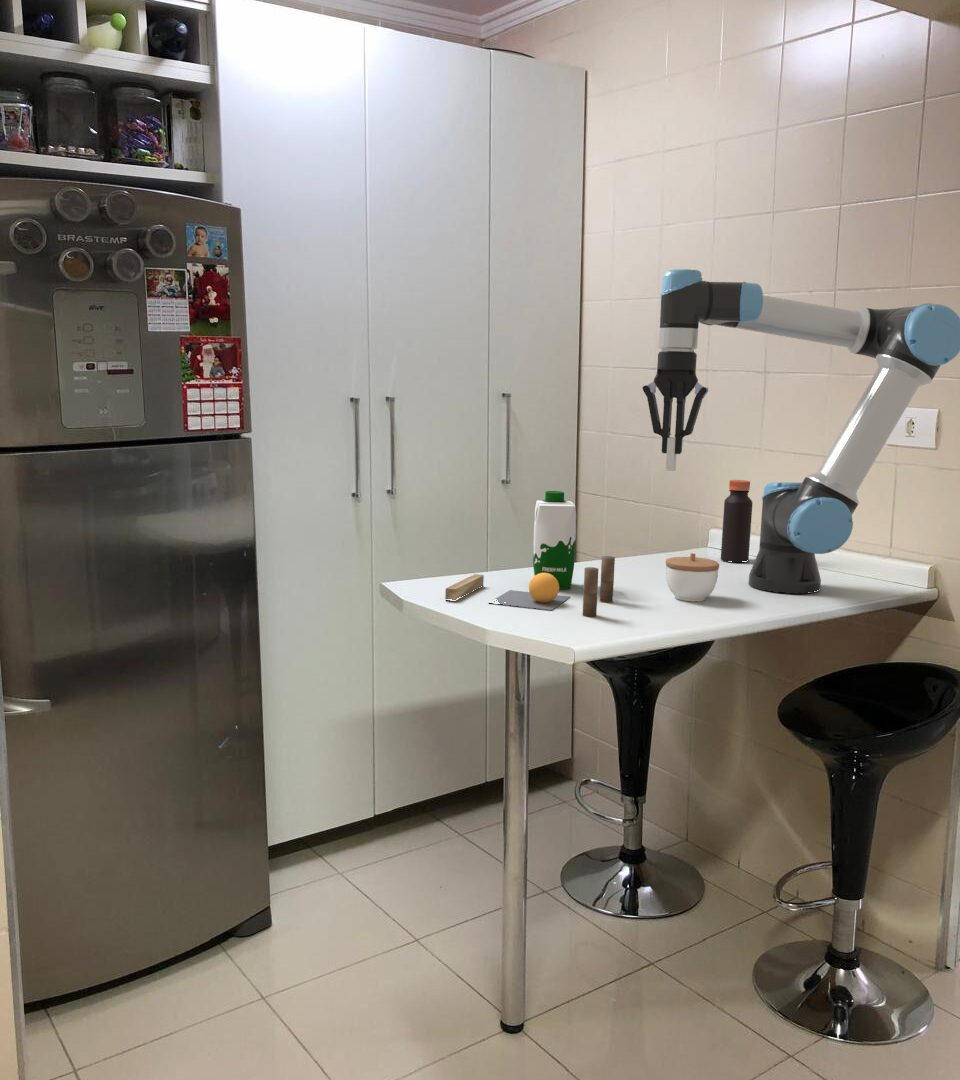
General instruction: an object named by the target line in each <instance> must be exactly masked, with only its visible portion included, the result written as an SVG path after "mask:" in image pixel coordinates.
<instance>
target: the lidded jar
mask: <svg viewBox="0 0 960 1080" xmlns="http://www.w3.org/2000/svg"><path fill="white" fill-rule="evenodd" d="M719 569H720V563H719V562H718V561H716V560H714V559H710V558H707V557H706V558H705V557H704V558H703V557H697V556H696V553H694V552H693V553H690V554H689V556H675V557H669V558H667V559H665V578H666V584H667V587H668V590H669V591H670V592H671V593H672V594H673V596H675V597H674V598H675V599H677V600H679V601H684V602H692V603H693V602H695V601H698V602H704V601H705V600H706V599H707V598H708V596H710V595H711V594H713V592H714V590H715V588H716V585H717V583H718V577H719V575H718V574H719ZM703 600H704V601H703Z"/></svg>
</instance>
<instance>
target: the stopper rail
mask: <svg viewBox="0 0 960 1080" xmlns="http://www.w3.org/2000/svg"><path fill="white" fill-rule="evenodd" d="M484 577H485V576H484V574H477V573H475V574H472V575H470V576H467V577H466V578H464V579H462V580H460V581H458V582H456V583H454V584H452V585H449V586H448V587H446V588H445V596H444V597H445V599H452V600H456V599H457V598H459V597H462V596H464V595H466V594H468V593H470V592H472V591H473V590H475V589H477V588H479V587H481V586H483V587H484V582H485V581H484V580H485V579H484ZM472 593H473V592H472ZM470 594H471V593H470ZM468 595H469V594H468ZM445 599H444V600H445Z"/></svg>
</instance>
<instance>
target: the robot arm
mask: <svg viewBox="0 0 960 1080" xmlns="http://www.w3.org/2000/svg"><path fill="white" fill-rule="evenodd" d="M662 276H663V277H662V285H661V293H660V317H659V318H660V319H659V328H658V329H659V330H658V331H659V332H658V346H657V347H658V349H659V350H660V351H659V352H658V354H657V364H656V365H657V367H656V374H655V376H654V377H653V381H651V382H650V383H648V384H647V385H646V384H645V385H643V386H642V391H643V393H644V395H645V396H646V399H647V405H648V410H649V414H650V420H651V426H652V431H653V433H654V434H655V435H656V434H657V435H659V436H660V437H661V453H662V454H666V457H665V458H666V461H665V471H666V472H668V471H669V472H674V471H676V469H677V467H676V466H677V465H676V464H677V455H681V454H682V451H683V441H684V440H683V439H684V438H685V437H686V436H690V435H692V434H693V432H694V429H695V424H696V422H697V419H698V415H699V412H700V408H701V406H702V403H703V399H704V398H705V397H706V395H707V394H708V392H709V388H708V387H706V386H703V385H702V384H701V383H700V382H699V380H698V377H697V371H696V370H697V357H698V355H697V354H696V353H697V352H695V350H697V349H698V342H699V340H698V336H699V327H700V326H699V323H700V324H702V325H706V326H721V327H725V328H734V329H739V330H745V331H751V332H758V333H763V334H768V335H773V336H779V337H785V338H790V339H797V340H801V341H802V340H804V341H808V342H813V343H814V342H815V343H821V344H826V345H832V346H837V347H844V348H847V350H848V351H849V352H850V353H851V354H854V355H859V356H860V355H861V356H864V357H868V358H872V359H875V360H876V362H877V369H876V372H875V374H874V375H873V377H872V378H871V380H870V381H869V384H868V385H867V387H866V388H865V389H864V392H863V393H862V395H861V397H860V399H859V400H858V402H857V403H856V406H855V407H854V409H853V410H852V412H851V414H850V416H849V417H848V419H847V421H846V422H845V424H844V426H843V428H842V429H841V431H840V433H839V435H838V436H837V438H836V440H835V442H834V443H833V444H832V446H831V448H830V450H829V451H828V453H827V455H826V456H825V458H824V461H823V462H822V464H821V465H820V467H819V468H818V470H817V471H816V472H815V473H811V474H809V475H808V474H807V475H806V476H805V477H804V479H803V480H802V482H769V483H767V484H765V486H764V488H763V494H762V497H761V500H762V507H761V519H760V521H761V522H760V535H759V546H758V547H759V549H758V553H757V554H756V557H755V558H754V559H755V560H754V562H753V563H752V567H751V570H750V572H749V575H748V586H750V585H751V586H750V587H752V586H753V587H752V588H754V587H755V588H754V589H757V588H758V589H757V590H761V589H762V591H765V590H768V591H767V592H771V591H775V592H774V593H778V592H786V593H785V594H790V593H807V594H809V593H808V592H814V591H817V590H819V589H820V590H821V585H822V584H821V583H822V579H821V575H820V570H819V567H818V563H817V558H816V555H825V554H829V553H832V552H834V551H837V550H838V549H840V548H842V546H843V545H844V544H845V543H847V541H848V540H849V538H850V537H851V535H852V531H853V528H854V521H853V514H854V512H855V510H856V509H857V507H858V506H859V503H860V502H859V498H858V495H857V492H858V491H859V489H860V487H861V485H862V484H863V482H864V480H865V478H866V477H867V476H868V475H867V474H868V473H869V471H870V469H871V468H872V467H873V465H874V463H875V462H876V459H877V458H878V456H879V455H880V453H881V451H882V450H883V447H884V446H885V444H886V442H887V441H888V439H889V438H890V437H891V434H892V432H894V429H895V428H896V426H897V424H898V422H900V419H901V417H902V416H903V414H904V412H905V411H906V409H907V408H908V406H909V404H910V403H911V400H913V397H914V396H915V394H916V393H917V390H918V389H919V388H920V387H921V386H924V385H928V384H932V383H931V382H932V381H933V379H934V378H935V376H936V374H937V373H938V371H939V370H940V367H941V366H943V365H945V364H948V363H949V362H951V361H952V360H954V359H955V358H956V357H957V356H958V354H959V353H960V316H959V315H958V313H957V312H956V311H954V310H953V309H952V308H950V307H949V306H946V305H943V304H935V303H923V304H919V305H915V306H906V307H905V306H904V307H903V306H902V307H897V308H889V309H885V308H884V309H881V308H880V309H877V308H869V307H860V308H859V309H858V310H851V309H844V308H838V307H835V306H834V307H832V306H828V305H827V306H826V305H822V304H816V303H815V304H814V303H810V302H806V301H805V302H804V301H797V300H791V299H786V298H781V297H775V296H770V295H764V293H763V289H762V287H761V285H760V284H758V283H755V282H754V283H753V282H746V281H743V282H741V281H739V282H737V281H706V280H703V278H702V276H703V275H702V272H701V271H700V270H699V269H690V268H689V269H688V268H687V269H686V268H683V269H681V268H678V269H677V268H676V269H669V270H667V271H666V272H665V273H664V274H663V275H662ZM656 388H657V389H658V390H659V392H660V394H661V395H662V397H663V412H662V415H663V416H662V425H661V420H660V419H661V418H660V413H659V408H658V403H657V397H656V392H657V389H656ZM694 389H695V390H694ZM693 390H694V394H695V396H694V398H693V399H694V400H693V402H692V406H691V409H690V412H689V416H688V417H687V418H688V419H687V421H686V425H685V413H686V410H685V409H686V402H687V401H686V400H687V397H688V396H689V395H690V393H691V392H692V391H693ZM674 398H675V399H676V409H675V410H676V411H675V412H676V413H675V431H674V437H670V436H671V435H672V434H671V428H672V415H673V413H672V412H673V410H672V409H673V402H674ZM684 427H685V428H684Z"/></svg>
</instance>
